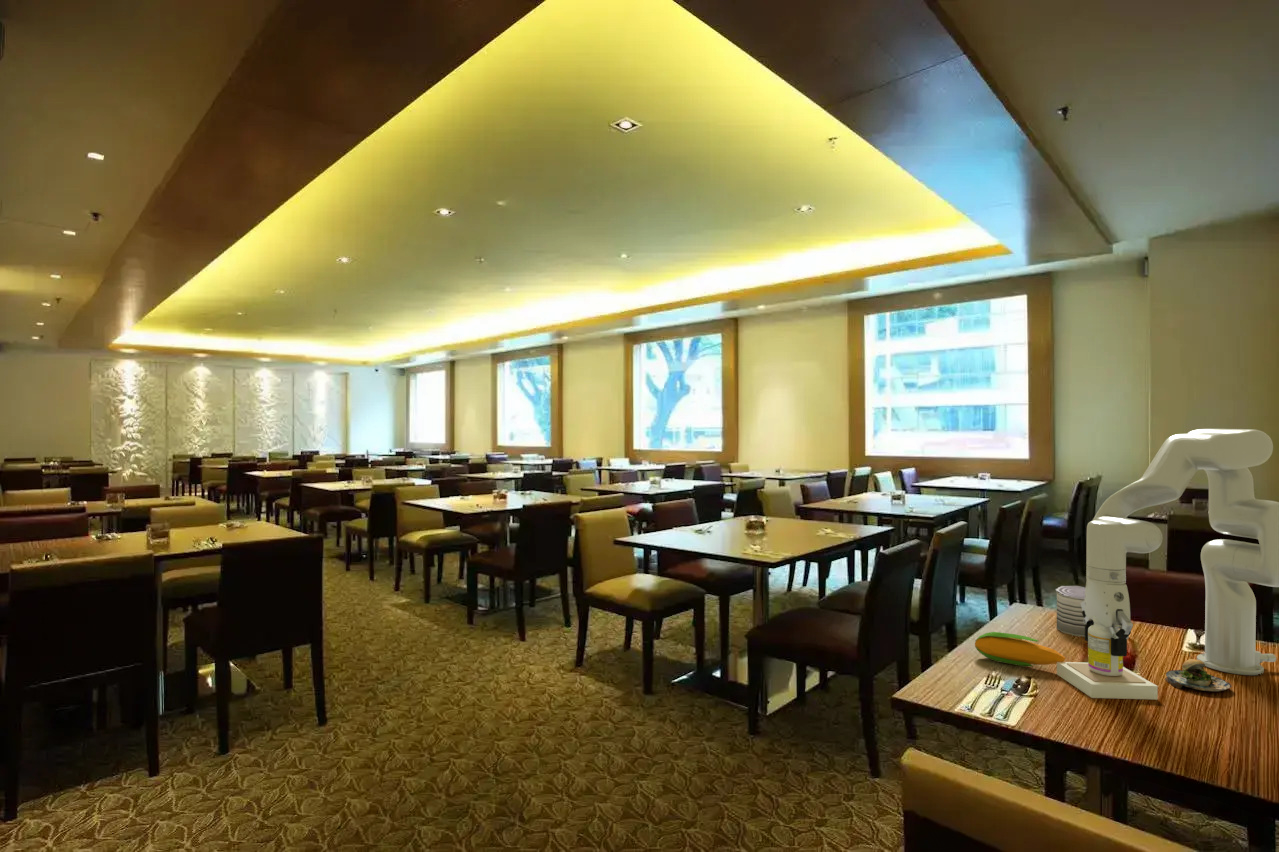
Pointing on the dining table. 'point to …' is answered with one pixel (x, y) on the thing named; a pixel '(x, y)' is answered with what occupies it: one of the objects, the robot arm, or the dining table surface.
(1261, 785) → the dining table surface
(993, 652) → the corn
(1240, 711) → the dining table surface
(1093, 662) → the supplement bottle
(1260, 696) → the dining table surface
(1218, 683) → the burger
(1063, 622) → the can
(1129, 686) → the base
